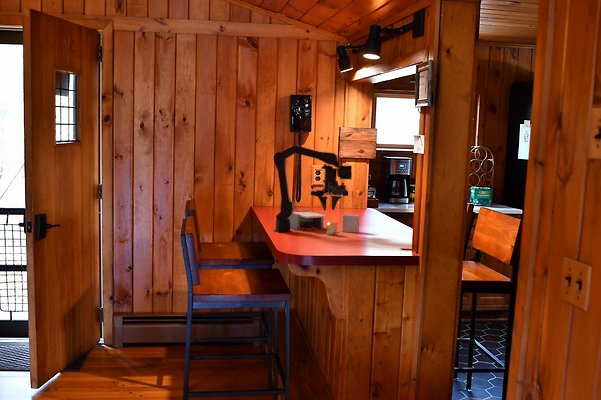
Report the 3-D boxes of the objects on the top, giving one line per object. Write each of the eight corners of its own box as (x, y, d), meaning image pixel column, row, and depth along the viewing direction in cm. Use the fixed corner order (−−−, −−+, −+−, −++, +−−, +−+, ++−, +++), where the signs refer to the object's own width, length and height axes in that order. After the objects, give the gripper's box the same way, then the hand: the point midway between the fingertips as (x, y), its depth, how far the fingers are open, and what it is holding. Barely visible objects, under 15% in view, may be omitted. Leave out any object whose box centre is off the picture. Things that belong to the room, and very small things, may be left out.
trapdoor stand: (297, 230, 334) (297, 214, 333) (282, 226, 347) (282, 211, 346) (323, 228, 342) (323, 213, 342) (307, 224, 355) (308, 210, 354)
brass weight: (330, 236, 320) (331, 223, 320) (324, 234, 324) (325, 222, 324) (339, 235, 323) (339, 223, 322) (333, 234, 327) (333, 221, 326)
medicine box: (359, 232, 337) (359, 215, 336) (357, 233, 333) (358, 216, 332) (343, 230, 339) (344, 214, 338) (342, 232, 335) (342, 215, 334)
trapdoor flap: (306, 225, 330) (306, 215, 329) (288, 221, 344) (288, 211, 344) (327, 224, 336) (327, 215, 336) (308, 220, 351) (309, 210, 350)
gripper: (323, 180, 311) (321, 212, 313) (355, 180, 321) (354, 211, 323) (310, 178, 321) (309, 209, 323) (342, 178, 331) (341, 209, 332)
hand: (328, 210), depth 325 cm, fingers open, 4 cm apart
